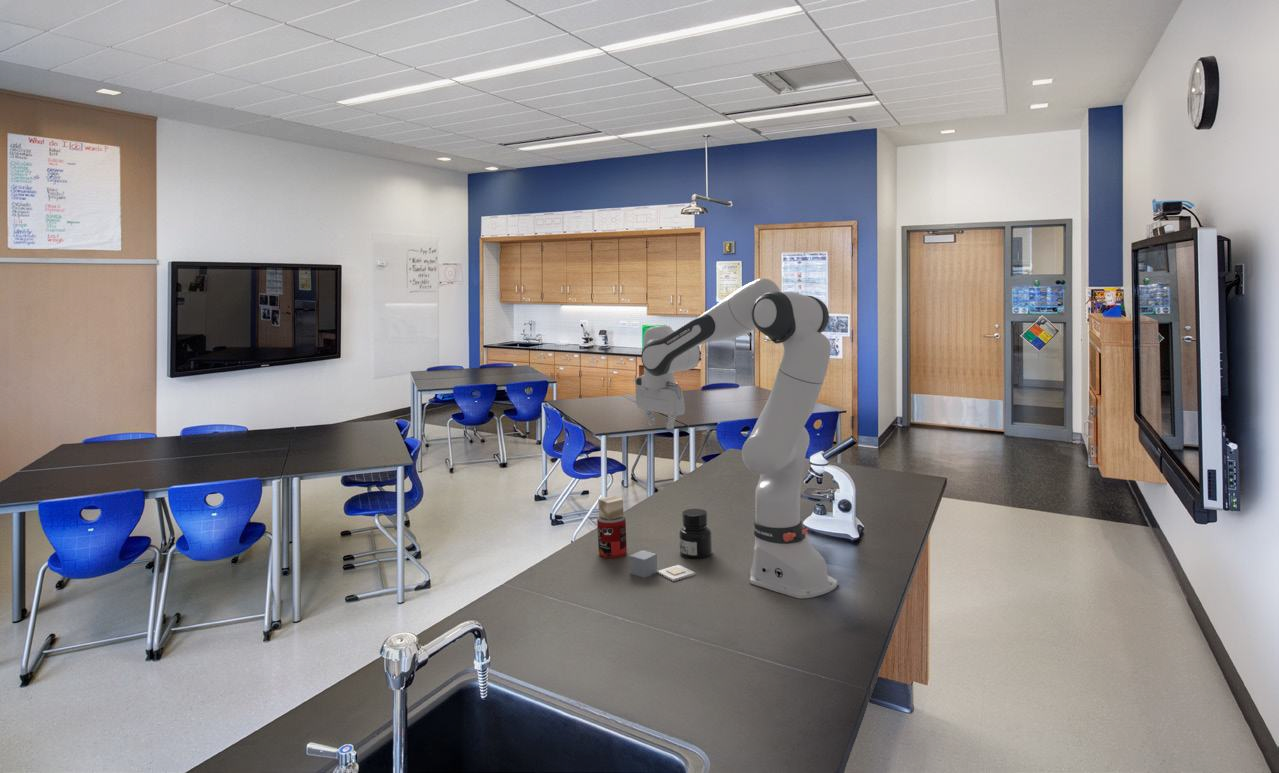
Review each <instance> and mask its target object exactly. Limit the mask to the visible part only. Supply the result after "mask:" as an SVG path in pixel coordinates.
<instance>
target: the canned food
mask: <svg viewBox="0 0 1279 773" xmlns="http://www.w3.org/2000/svg"><path fill="white" fill-rule="evenodd" d="M596 522H597V523H596V524H597V525H596V526H597V540H598V541H597V542H598V543H597V546H598V547H597V548H598V554H599V556H600V557H601V556H602V557H601V558H604V557H605V559H617V558H618V557H619V558H621V557H624V556H625V555H626V554H627V550H628V548H627V547H628V546H627V545H628V544H627V523H626V522H627V521H626V514H624V517H620V518H616V519H612V520H607V519H604V518H602V517H600V516H599V515H597V518H596Z"/></svg>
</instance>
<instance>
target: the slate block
mask: <svg viewBox="0 0 1279 773" xmlns="http://www.w3.org/2000/svg"><path fill="white" fill-rule="evenodd" d="M657 555H658V554H657V553H654V552H650V551H647V550H644V549H643V550H639V551H637V552H635V553H633V554H631V555H629V565H630V566H629V569H630V570H629V571H630V574H631V575H633V574H634V576H636V575H637V577H640V576H641V577H640V578H643V577H644V578H643V579H646V578H648V577H651V576H652V575H654V574H656V573H657V571H658V558H657ZM655 572H656V573H655ZM653 573H654V574H653ZM647 576H648V577H647ZM645 577H646V578H645Z"/></svg>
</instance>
